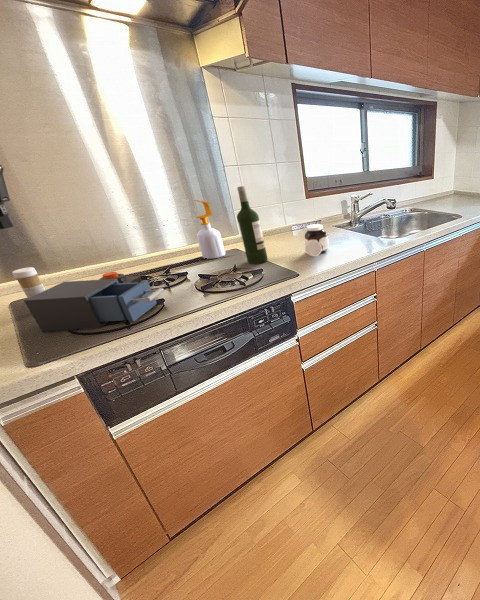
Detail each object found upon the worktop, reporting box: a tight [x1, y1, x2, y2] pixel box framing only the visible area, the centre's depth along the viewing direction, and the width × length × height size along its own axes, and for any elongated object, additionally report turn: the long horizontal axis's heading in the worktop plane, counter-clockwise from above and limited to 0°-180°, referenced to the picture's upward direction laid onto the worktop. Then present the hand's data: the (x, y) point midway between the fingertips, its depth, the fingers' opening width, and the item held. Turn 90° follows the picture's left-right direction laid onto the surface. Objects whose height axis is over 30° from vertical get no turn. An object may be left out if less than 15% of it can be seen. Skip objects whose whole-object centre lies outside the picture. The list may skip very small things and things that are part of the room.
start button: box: [101, 271, 119, 279], centre depth 112 cm, size 4×4×2 cm
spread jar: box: [303, 223, 330, 257], centre depth 143 cm, size 12×11×12 cm
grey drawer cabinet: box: [23, 279, 119, 333], centre depth 91 cm, size 15×13×10 cm
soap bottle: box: [192, 199, 226, 260], centre depth 139 cm, size 9×9×25 cm
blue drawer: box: [88, 279, 165, 323], centre depth 92 cm, size 18×11×8 cm, turn 96°
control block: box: [98, 273, 143, 284], centre depth 113 cm, size 12×10×4 cm
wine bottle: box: [236, 185, 268, 265], centre depth 130 cm, size 8×8×30 cm
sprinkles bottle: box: [11, 266, 47, 299], centre depth 96 cm, size 5×5×14 cm
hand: (6, 227), depth 94 cm, fingers closed
